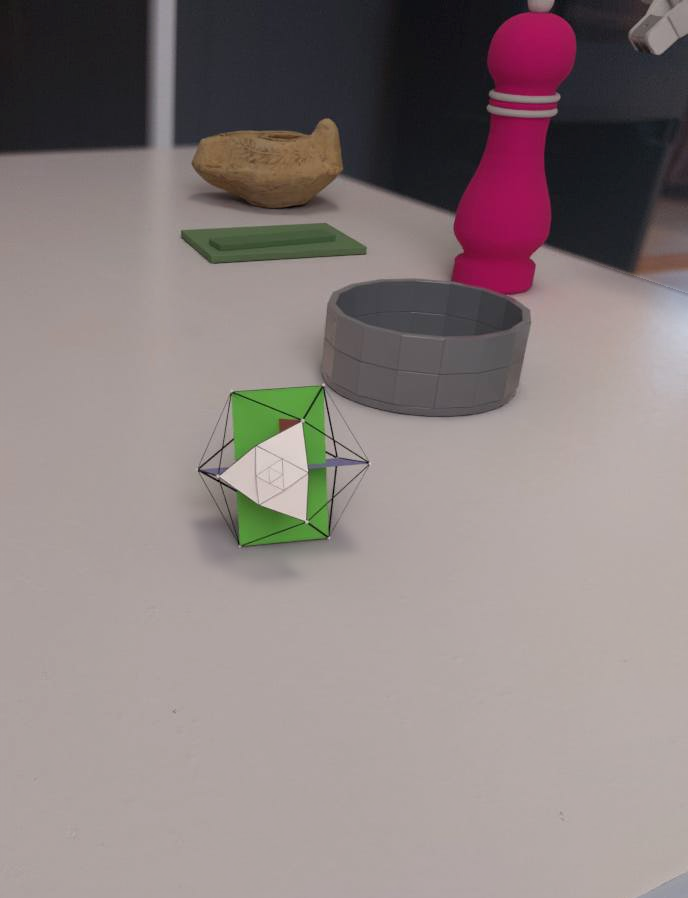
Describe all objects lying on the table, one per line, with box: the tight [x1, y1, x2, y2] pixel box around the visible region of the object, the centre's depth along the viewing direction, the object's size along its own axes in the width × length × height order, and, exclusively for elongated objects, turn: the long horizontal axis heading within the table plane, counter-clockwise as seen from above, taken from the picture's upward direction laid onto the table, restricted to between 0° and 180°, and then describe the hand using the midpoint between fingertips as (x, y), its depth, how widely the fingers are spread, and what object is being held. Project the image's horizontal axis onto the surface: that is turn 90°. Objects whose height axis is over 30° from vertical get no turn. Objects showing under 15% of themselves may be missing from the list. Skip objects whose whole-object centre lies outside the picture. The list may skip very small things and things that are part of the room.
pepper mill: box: [451, 0, 577, 295], centre depth 76 cm, size 7×7×20 cm
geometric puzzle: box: [195, 383, 373, 549], centre depth 45 cm, size 7×7×8 cm
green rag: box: [180, 222, 368, 264], centre depth 90 cm, size 14×9×1 cm, turn 107°
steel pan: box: [321, 277, 532, 417], centre depth 62 cm, size 12×12×4 cm
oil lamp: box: [191, 118, 344, 209], centre depth 102 cm, size 11×15×8 cm
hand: (641, 46), depth 74 cm, fingers closed
